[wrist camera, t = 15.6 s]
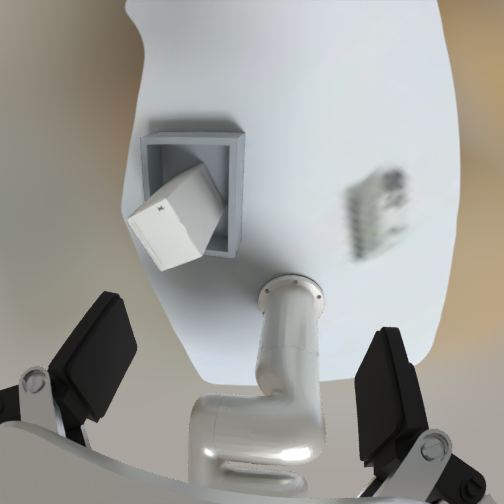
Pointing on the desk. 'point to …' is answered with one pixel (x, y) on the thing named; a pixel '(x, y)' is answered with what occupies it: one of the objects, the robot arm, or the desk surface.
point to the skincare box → (179, 218)
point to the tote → (218, 165)
